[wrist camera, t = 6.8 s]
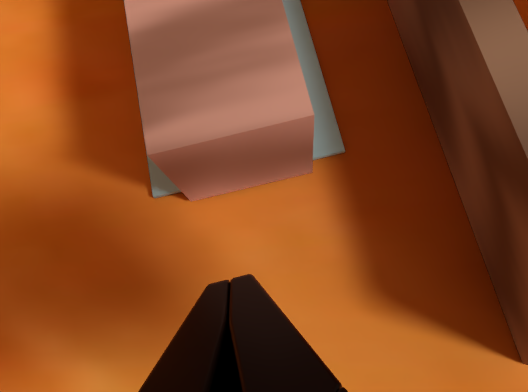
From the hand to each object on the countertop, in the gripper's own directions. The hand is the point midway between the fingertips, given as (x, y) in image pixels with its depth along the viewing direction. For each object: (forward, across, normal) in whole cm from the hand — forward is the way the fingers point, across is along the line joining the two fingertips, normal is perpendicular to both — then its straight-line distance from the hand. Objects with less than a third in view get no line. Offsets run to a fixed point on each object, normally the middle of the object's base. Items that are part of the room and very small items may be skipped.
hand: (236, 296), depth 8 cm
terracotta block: (+7, 0, 0) cm, 7 cm away
